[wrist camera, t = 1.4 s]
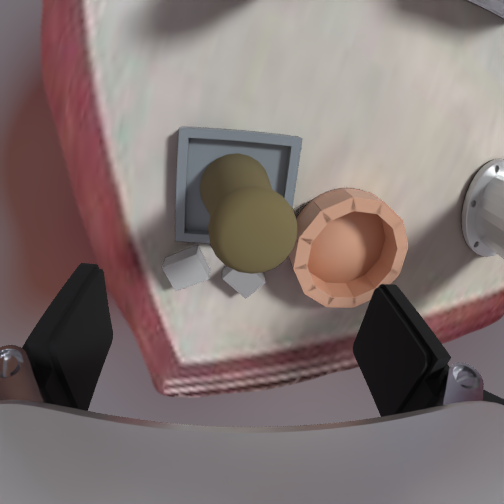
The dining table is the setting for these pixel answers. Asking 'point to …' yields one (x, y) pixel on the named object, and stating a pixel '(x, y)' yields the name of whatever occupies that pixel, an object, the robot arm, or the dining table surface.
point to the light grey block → (186, 268)
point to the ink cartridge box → (491, 6)
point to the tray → (215, 146)
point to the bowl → (347, 247)
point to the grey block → (243, 281)
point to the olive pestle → (246, 215)
